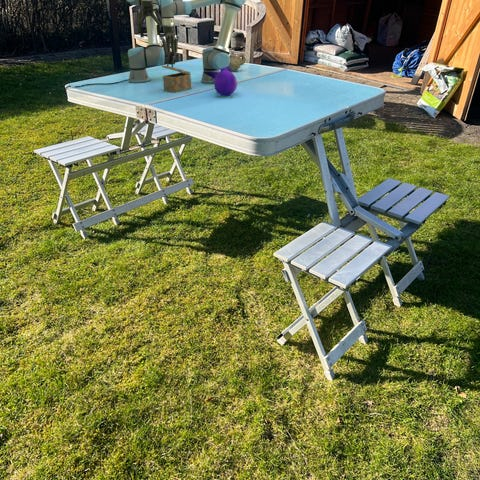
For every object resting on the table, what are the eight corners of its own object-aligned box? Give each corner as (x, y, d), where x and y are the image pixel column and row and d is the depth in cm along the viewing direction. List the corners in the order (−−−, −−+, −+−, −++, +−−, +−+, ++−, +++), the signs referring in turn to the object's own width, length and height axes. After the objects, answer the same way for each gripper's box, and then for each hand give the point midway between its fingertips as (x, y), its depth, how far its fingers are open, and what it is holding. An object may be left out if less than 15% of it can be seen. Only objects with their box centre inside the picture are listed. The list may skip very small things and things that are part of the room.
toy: (224, 88, 311) (237, 101, 290) (200, 83, 303) (211, 96, 283) (230, 64, 302) (243, 76, 282) (205, 59, 295) (217, 71, 274)
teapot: (225, 73, 359) (225, 53, 352) (218, 71, 368) (218, 51, 360) (248, 70, 368) (248, 50, 361) (241, 68, 377) (241, 49, 369)
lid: (171, 68, 295) (173, 55, 293) (161, 67, 301) (163, 54, 299) (190, 74, 308) (192, 61, 306) (180, 72, 314) (182, 60, 312)
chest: (173, 92, 303) (172, 77, 298) (164, 90, 309) (162, 75, 304) (191, 88, 313) (190, 74, 308) (182, 86, 319) (181, 72, 314)
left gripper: (133, 1, 277) (138, 38, 288) (165, -1, 292) (169, 35, 303) (126, 1, 282) (131, 37, 292) (159, -1, 297) (162, 34, 308)
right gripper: (163, 26, 282) (166, 66, 294) (181, 25, 291) (184, 63, 303) (155, 26, 286) (159, 65, 298) (174, 24, 295) (177, 62, 307)
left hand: (150, 36), depth 298 cm, fingers open, 13 cm apart
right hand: (172, 64), depth 300 cm, fingers closed on lid, 2 cm apart
